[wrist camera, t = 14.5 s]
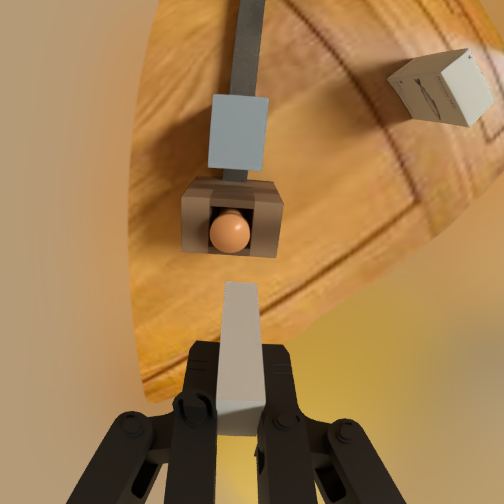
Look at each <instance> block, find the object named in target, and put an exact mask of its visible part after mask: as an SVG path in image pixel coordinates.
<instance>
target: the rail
mask: <svg viewBox="0 0 504 504" xmlns="http://www.w3.org/2000/svg"><path fill="white" fill-rule="evenodd" d="M264 6H265V0H240V6H239V13H238V21H237V29H236V37H235V46H234V55H233V64H232V73H231V83H230V93H229V95H240V96H253V97H255V90H256V80H257V71H258V61H259V52H260V42H261V33H262V24H263V15H264ZM247 174H248V170H241V169H226V168H223V180H222V181H229V182H243V183H247Z"/></svg>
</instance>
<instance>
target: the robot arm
mask: <svg viewBox="0 0 504 504" xmlns="http://www.w3.org/2000/svg"><path fill="white" fill-rule="evenodd" d="M172 405H173V409H174V411H172V412H171V413H168V414H165V415H161V416H153V417H146V416H145V415H143V414H142V413H140V412H135V411H129V412H124V413H122V414H120V415H119V416H118V417H117V418H116V419H115V421H114V422H113V424H112V425H111V427H110V429H109V431H108V432H107V434H106V436H105V437H104V439H103V440H102V442H101V444H100V445H99V447H98V449H97V451H96V452H95V454H94V456H93V457H92V459H91V461H90V462H89V464H88V466H87V468H86V469H85V471H84V473H83V475H82V476H81V478H80V480H79V481H78V484H77V485H76V487H75V488H74V490H73V492H72V494H71V496H70V497H69V499H68V501H67V503H66V504H145V502H146V500H147V497H148V495H149V493H150V491H151V489H152V487H153V484H154V482H155V480H156V478H157V475H158V473H159V471H160V469H161V467H162V464H164V463H168V472H167V479H166V488H165V497H164V504H215V483H216V454H217V435H228V436H256V435H257V439H258V444H257V447H256V450H255V454H254V456H256V457H257V458H256V459H257V482H258V504H318V502H317V496H316V488H315V482H316V484H317V487H318V489H319V491H320V493H321V495H322V497H323V500H324V502H325V504H406V502H405V500H404V499H403V497H402V495H401V494H400V492H399V490H398V488H397V487H396V485H395V484H394V481H393V480H392V478H391V476H390V474H389V473H388V471H387V469H386V468H385V466H384V464H383V462H382V461H381V459H380V457H379V456H378V454H377V452H376V450H375V449H374V447H373V445H372V444H371V442H370V440H369V439H368V437H367V435H366V433H365V432H364V430H363V428H362V427H361V426H360V425H359V424H358V423H357V422H355V421H354V420H351V419H346V418H345V419H338V420H336V421H335V422H333V423H332V424H330V423H325V422H320V421H316V420H313V419H310V418H308V417H307V416H305V415H304V414H303V413H302V412H301V410H300V409H299V407H298V404H297V397H296V391H295V384H294V379H293V374H292V367H291V360H290V355H289V353H288V351H287V350H286V348H285V347H284V346H283V345H278V344H262V343H261V330H260V317H259V304H258V291H257V283H245V282H230V281H226V282H225V293H224V304H223V315H222V327H221V340H220V342H208V341H197V340H196V342H195V343H194V344H193V346H192V347H191V348H190V350H189V356H188V361H187V367H186V373H185V378H184V384H183V390H182V392H181V393H179V394H178V395H177V396H176V397H175V399H174V401H173V403H172ZM314 480H315V481H314Z"/></svg>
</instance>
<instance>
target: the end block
mask: <svg viewBox="0 0 504 504" xmlns="http://www.w3.org/2000/svg"><path fill="white" fill-rule="evenodd" d="M222 180H223V178H217V177H198V176H197V177H196V178H195V180H194V181H193V182H192V183H191V185H190V186H189V187H188V189H187V190H186V191H185V193H184V194H183V195H182V196H181V245H182V252H193V253H207V254H222V255H237V256H252V257H267V258H276V255H277V248H278V241H279V234H280V227H281V220H282V213H283V205H284V203H283V201H282V199H281V197H280V195H279V193H278V191H277V189H276V187H275V185H274V183H273V182H270V181H259V180H247V183H243V182H229V181H222ZM221 207H233V208H243V210H244V219H245V220H246V221H247V223H248V225H249V230H250V238H249V241H248V243H247V245H246V246H245V247H244V248H243V249H242V250H240V251H238V252H234V253H226V252H222V251H220V250H218V249H217V248H216V247H215V246H214V245H213V244H212V242H211V239H210V229H211V225H212V223H213V221H214V220H215V219H216V218H217V217H218V216H219V213H220V209H221Z"/></svg>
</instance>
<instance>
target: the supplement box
mask: <svg viewBox="0 0 504 504" xmlns="http://www.w3.org/2000/svg"><path fill="white" fill-rule="evenodd" d="M387 81H388V82H389V83H390V84H391V86H392V87H393V88H394V90H395V91H396V93H397V94H398V95H399V97H400V98H401V100H402V102H403V103H404V105H405V106H406V108H407V109H408V111H409V113H410V115H411V116H412V118H413V119H417V120H425V121H433V122H440V123H447V124H453V125H459V126H464V127H470V126H471V125H472V124H473V123H474V122H475V121H476V120H477V119H478V118H479V117H480V116H481V115H482V114H483V113H484V112H485V111H486V110H487V109H488V108H489V107H490V106H491V105H492V104H493V103H494V102H495V99H494V97H493V95H492V92H491V90H490V88H489V86H488V84H487V82H486V80H485V78H484V76H483V73H482V72H481V70H480V68H479V66H478V64H477V62H476V61H475V59H474V57H473V55H472V53H471V52H470V50H469V49H468V48H466V49H460V50H453V51H447V52H441V53H436V54H431V55H426V56H421V57H416V58H414V59H412V60H411V61H410V62H408V63H407V64H406V65H404V66H403V67H401V68H400V69H399V70H397V71H396V72H395V73H393V74H392V75H391V76H389V77H388V78H387Z"/></svg>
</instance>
